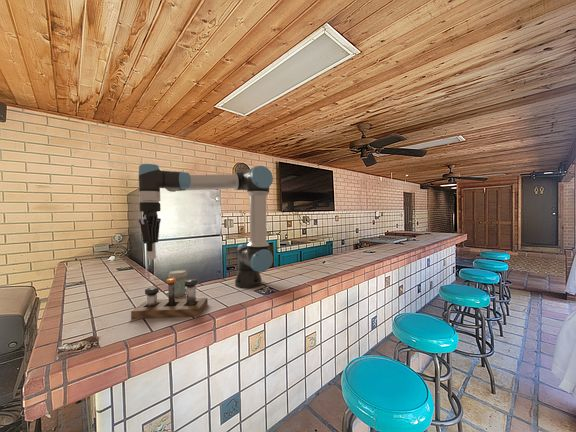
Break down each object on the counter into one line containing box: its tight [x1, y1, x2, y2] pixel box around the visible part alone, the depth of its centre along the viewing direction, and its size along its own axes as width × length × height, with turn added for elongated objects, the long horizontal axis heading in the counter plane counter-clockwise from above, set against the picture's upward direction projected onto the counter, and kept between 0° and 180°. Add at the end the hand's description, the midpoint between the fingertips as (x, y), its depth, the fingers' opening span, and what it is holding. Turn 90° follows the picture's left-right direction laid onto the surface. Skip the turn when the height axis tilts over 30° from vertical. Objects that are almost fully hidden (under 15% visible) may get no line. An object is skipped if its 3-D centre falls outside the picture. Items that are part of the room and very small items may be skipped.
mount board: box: [130, 297, 209, 320], centre depth 99 cm, size 26×12×3 cm, turn 93°
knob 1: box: [144, 286, 160, 307], centre depth 99 cm, size 5×5×10 cm
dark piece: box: [166, 278, 176, 305], centre depth 99 cm, size 3×3×10 cm
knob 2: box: [184, 278, 198, 305], centre depth 99 cm, size 5×5×10 cm
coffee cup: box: [168, 269, 188, 298], centre depth 118 cm, size 8×8×12 cm
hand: (151, 258), depth 98 cm, fingers closed
